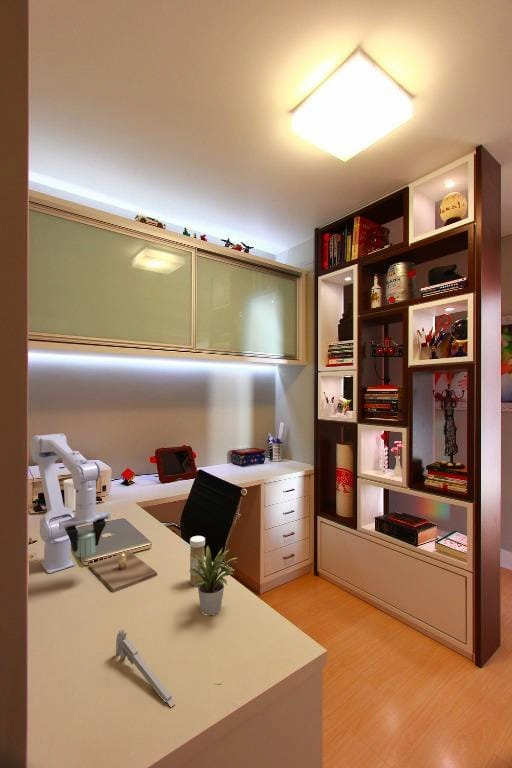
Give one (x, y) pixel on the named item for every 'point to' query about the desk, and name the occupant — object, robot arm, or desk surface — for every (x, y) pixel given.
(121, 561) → the tan cylinder
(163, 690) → the caliper
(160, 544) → the desk surface
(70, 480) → the cup
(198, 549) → the sprinkles bottle
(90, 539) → the cap
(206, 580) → the house plant
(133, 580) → the walnut board
